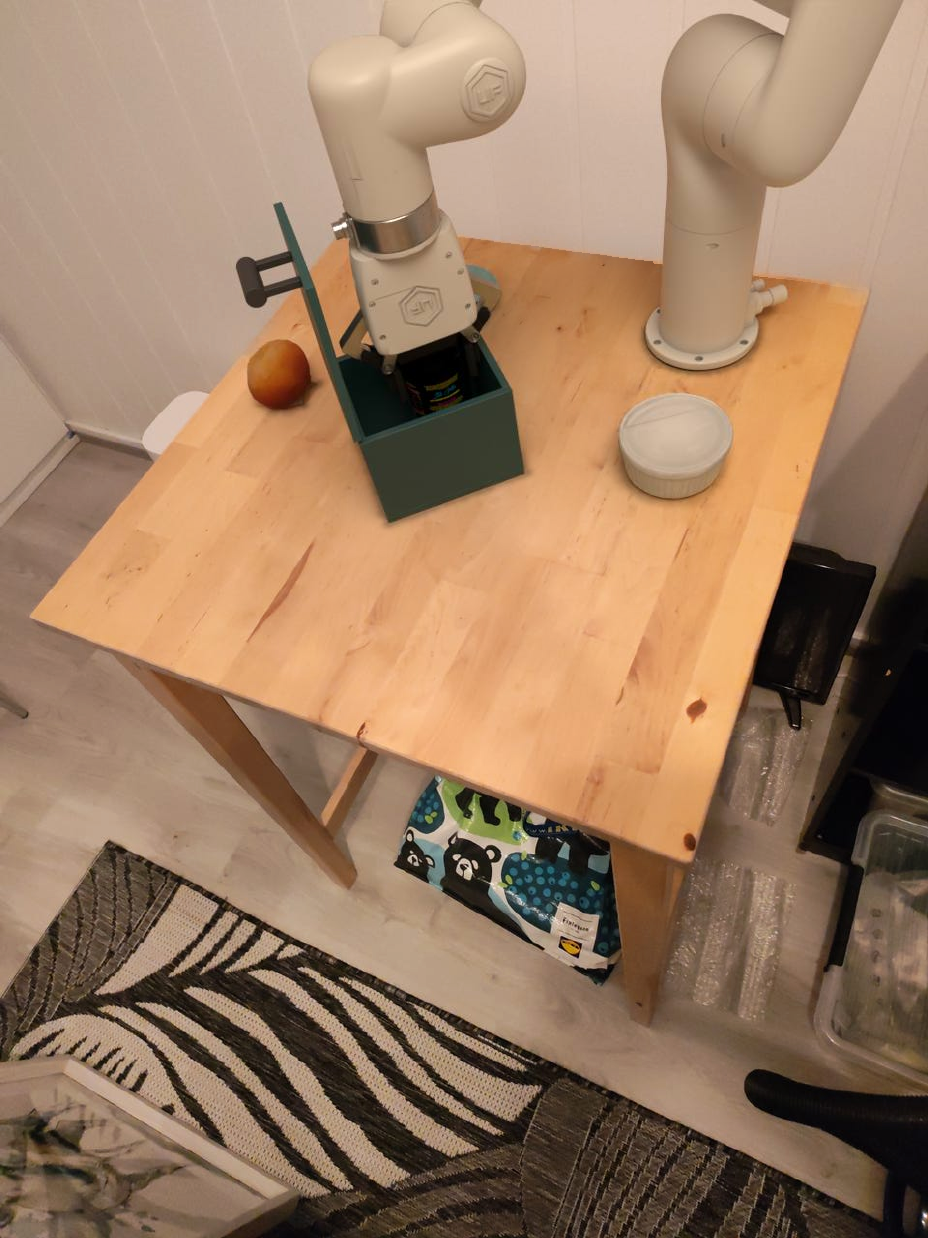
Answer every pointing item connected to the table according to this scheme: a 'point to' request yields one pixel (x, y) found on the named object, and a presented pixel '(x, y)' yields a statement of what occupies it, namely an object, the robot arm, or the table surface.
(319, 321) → the lid
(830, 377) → the table surface
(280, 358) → the fruit
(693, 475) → the ramekin
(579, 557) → the table surface
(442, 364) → the supplement container
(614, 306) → the table surface
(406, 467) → the box
